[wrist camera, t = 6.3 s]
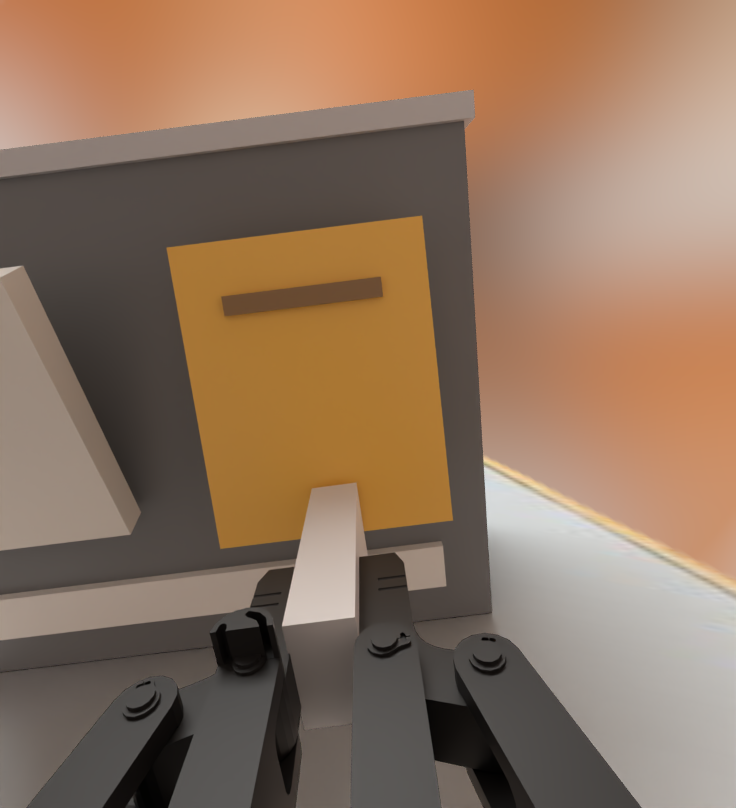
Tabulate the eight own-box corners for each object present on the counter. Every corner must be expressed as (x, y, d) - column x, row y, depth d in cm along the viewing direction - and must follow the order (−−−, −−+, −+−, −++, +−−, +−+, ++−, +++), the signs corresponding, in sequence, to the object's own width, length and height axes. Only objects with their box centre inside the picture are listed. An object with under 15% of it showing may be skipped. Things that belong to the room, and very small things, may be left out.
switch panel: (501, 617, 22) (474, 88, 16) (-45, 683, 22) (-272, 183, 16) (460, 518, 30) (432, 147, 24) (64, 567, 30) (-59, 208, 24)
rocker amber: (454, 523, 16) (423, 213, 15) (218, 552, 17) (163, 246, 15) (446, 507, 18) (417, 223, 16) (229, 534, 18) (180, 253, 16)
